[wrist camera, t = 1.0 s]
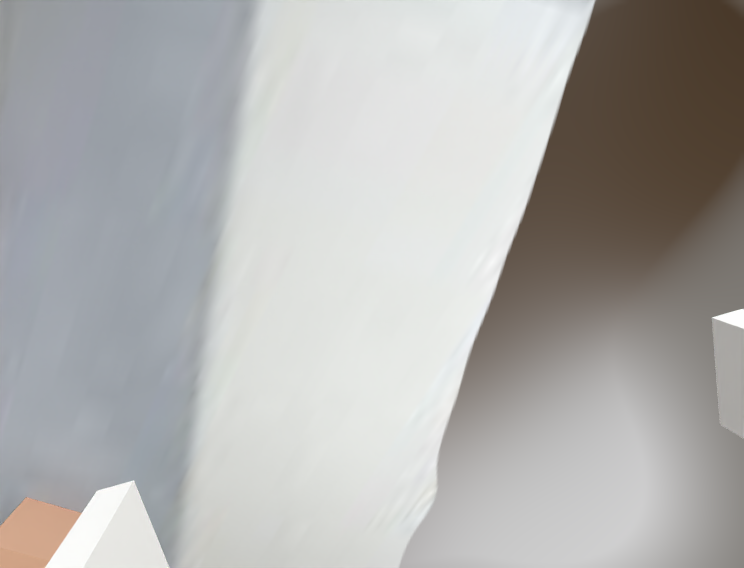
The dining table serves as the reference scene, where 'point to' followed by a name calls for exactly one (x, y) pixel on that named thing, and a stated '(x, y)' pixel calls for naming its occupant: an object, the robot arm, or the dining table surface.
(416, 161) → the dining table surface
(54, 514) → the terracotta cube
